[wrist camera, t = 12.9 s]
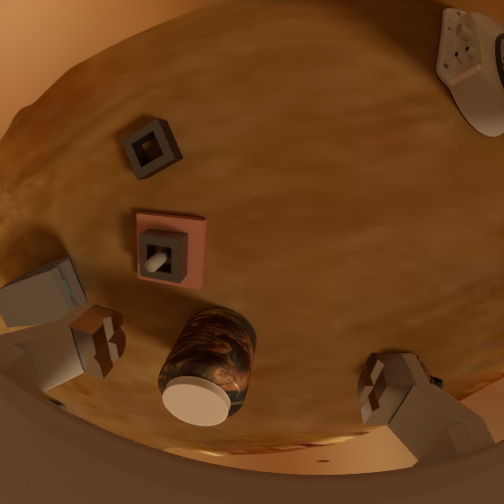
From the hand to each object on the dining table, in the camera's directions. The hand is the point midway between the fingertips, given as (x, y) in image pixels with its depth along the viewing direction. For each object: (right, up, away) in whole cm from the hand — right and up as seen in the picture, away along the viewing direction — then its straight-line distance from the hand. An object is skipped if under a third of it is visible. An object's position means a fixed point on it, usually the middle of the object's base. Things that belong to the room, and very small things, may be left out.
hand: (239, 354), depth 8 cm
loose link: (-13, +17, +27) cm, 34 cm away
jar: (-5, -11, +35) cm, 37 cm away
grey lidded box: (-37, -2, +37) cm, 52 cm away
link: (-11, +3, +30) cm, 32 cm away
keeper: (-11, +4, +31) cm, 33 cm away
